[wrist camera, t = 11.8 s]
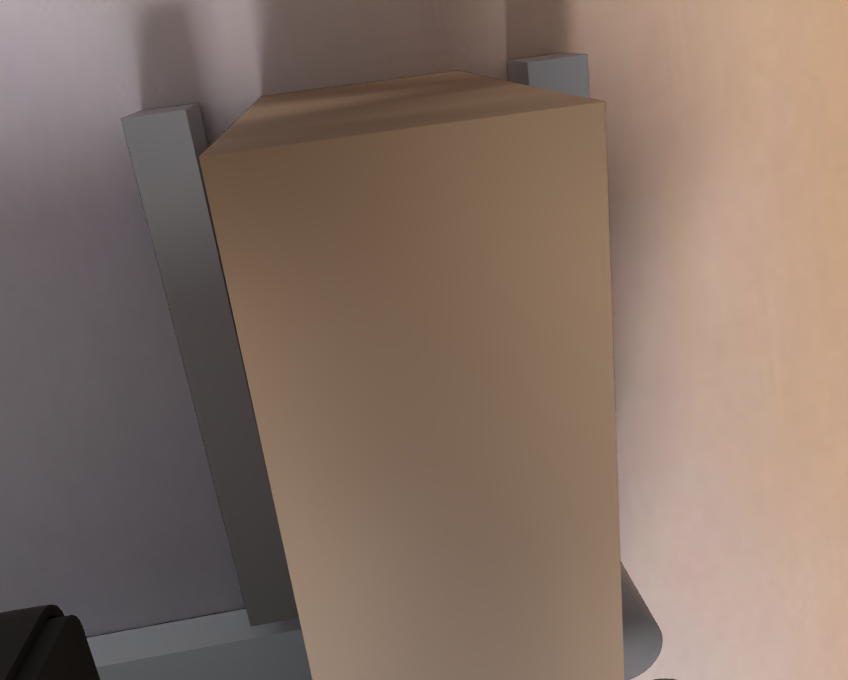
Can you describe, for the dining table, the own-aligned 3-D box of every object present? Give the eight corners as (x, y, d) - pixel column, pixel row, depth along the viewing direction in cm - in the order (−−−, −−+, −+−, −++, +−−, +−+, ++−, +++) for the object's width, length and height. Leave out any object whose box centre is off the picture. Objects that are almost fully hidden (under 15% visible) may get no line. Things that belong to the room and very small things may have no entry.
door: (497, 65, 14) (688, 90, 7) (534, 529, 18) (686, 871, 11) (261, 95, 14) (198, 156, 7) (347, 561, 18) (368, 939, 10)
